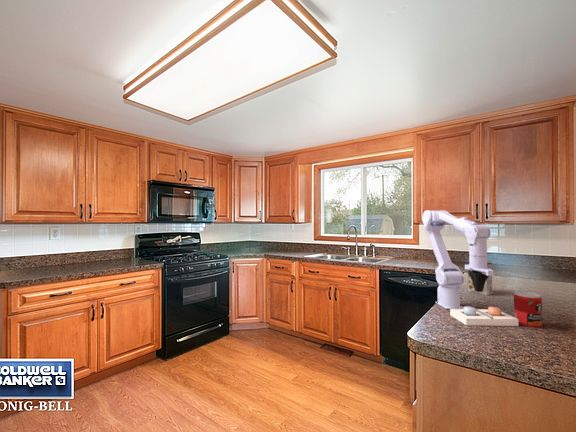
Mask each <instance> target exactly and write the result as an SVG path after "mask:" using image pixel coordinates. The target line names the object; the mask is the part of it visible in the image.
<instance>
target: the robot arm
mask: <svg viewBox="0 0 576 432" xmlns="http://www.w3.org/2000/svg"><path fill="white" fill-rule="evenodd" d="M421 217H422V218H421V221H422V224H423V227H424V229H425V230H426V231H425V232H426V234H427V237H428V241H429V242H430V245H431V247H432V250H433V254H434V256H435V259H436V262H437V264H438V266H437V267H436V268H435V270H434V272H435V279H436V282H437V284H438V287H437V290H436V291H437V301H435V304H437V305H439V306H440V307H442V308H444V309H446V310H450V309H464V307H465V306H462V305H461V291H460V290H461V287H462V285H463V284H464V282H465V276H464V273H463V272H462V271H461V270H460V267H459V266H458V265H456V264H455V263H453V262H452V260H451V257H450V254H449V252H448V249H447V247H446V245H445V242H444V239H443V237H442V234H441V231H442V230H443V229H444V227H445V225H446V224H449V225H452V226H453V228H454V230H456V231H458V233H462V234H463V235H465V237H466V242H467V244H468V254H469V255H468V260H469V261H468V262H469V265H468V264H464V270H466V271H467V270H471V271H472V272H468V271H467V275H469V276H470V278H471V280H472V282H473V286H474V289H475V291H477V292H483V288H484V285H485V282H486V280H487V279H488V277H489V276H492V277H494V275H495V273H494V272H495V271H494V270H493V269H492V270H491V269H489V268H487V262H488V243H487V242H488V241H487V240H488V239H489V238H490V237H491V230H490V227H489V226H488V225H487V224H478V223H477V222H476V221H472V220H470V219H468V217H466V216H465V217H464V216H463V217H459V218H458V217H457V216H455V215H453V214H452V213H450V212H449V211H448V210H447V211H446V210H444V209H442V210H428V209H427V210H424V212H422V216H421ZM438 301H439V302H438ZM437 302H438V303H437Z"/></svg>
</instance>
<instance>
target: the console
mask: <svg viewBox="0 0 576 432" xmlns="http://www.w3.org/2000/svg"><path fill="white" fill-rule="evenodd" d="M449 311H450V312H449V315H450V316H451V317H452V318H454V319H456V320H457V321H459V322H460V323H463V324H464V325H465V326H479V327H481V326H483V327H485V326H487V327H488V326H492V327H494V326H495V327H497V326H498V327H519V325H520V324H518V319H517V318H515V317H514V316H512V315H510V314H508V313H505V312H504V311H501V316H491V315H489V314H488V308H487V309H483V308H482V309H479V308H478V309H477V308H476V316H466V315H465V314H464V309H449Z"/></svg>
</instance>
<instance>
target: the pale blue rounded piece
mask: <svg viewBox="0 0 576 432" xmlns="http://www.w3.org/2000/svg"><path fill="white" fill-rule="evenodd" d="M463 307H464V314H465V315H466V316H476V309H477V308H476V307H473V306H469V305H467V306H463Z"/></svg>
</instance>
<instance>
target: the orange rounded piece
mask: <svg viewBox="0 0 576 432" xmlns="http://www.w3.org/2000/svg"><path fill="white" fill-rule="evenodd" d="M487 309H488V314H489V315H491V316H501V312H502V308H500V307H499V306H498V307H497V306H488V307H487Z"/></svg>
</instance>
